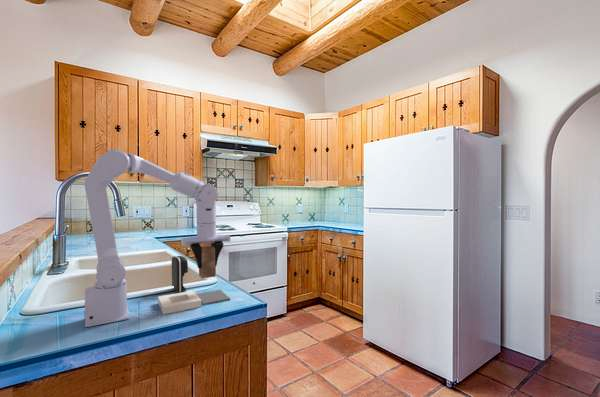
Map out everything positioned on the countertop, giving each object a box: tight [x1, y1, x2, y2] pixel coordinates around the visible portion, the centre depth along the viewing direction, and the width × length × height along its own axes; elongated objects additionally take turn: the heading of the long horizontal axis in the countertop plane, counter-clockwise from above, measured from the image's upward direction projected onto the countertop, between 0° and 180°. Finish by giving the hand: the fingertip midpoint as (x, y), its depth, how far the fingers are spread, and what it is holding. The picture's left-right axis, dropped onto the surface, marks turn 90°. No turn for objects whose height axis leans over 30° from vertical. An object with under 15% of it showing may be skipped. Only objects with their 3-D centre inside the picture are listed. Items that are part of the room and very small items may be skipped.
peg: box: [198, 245, 216, 279], centre depth 95 cm, size 4×4×9 cm
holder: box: [157, 290, 202, 315], centre depth 90 cm, size 10×10×2 cm
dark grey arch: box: [171, 255, 189, 293], centre depth 104 cm, size 7×4×11 cm, turn 38°
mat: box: [196, 289, 231, 306], centre depth 96 cm, size 8×10×1 cm
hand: (207, 266), depth 95 cm, fingers closed on peg, 4 cm apart
